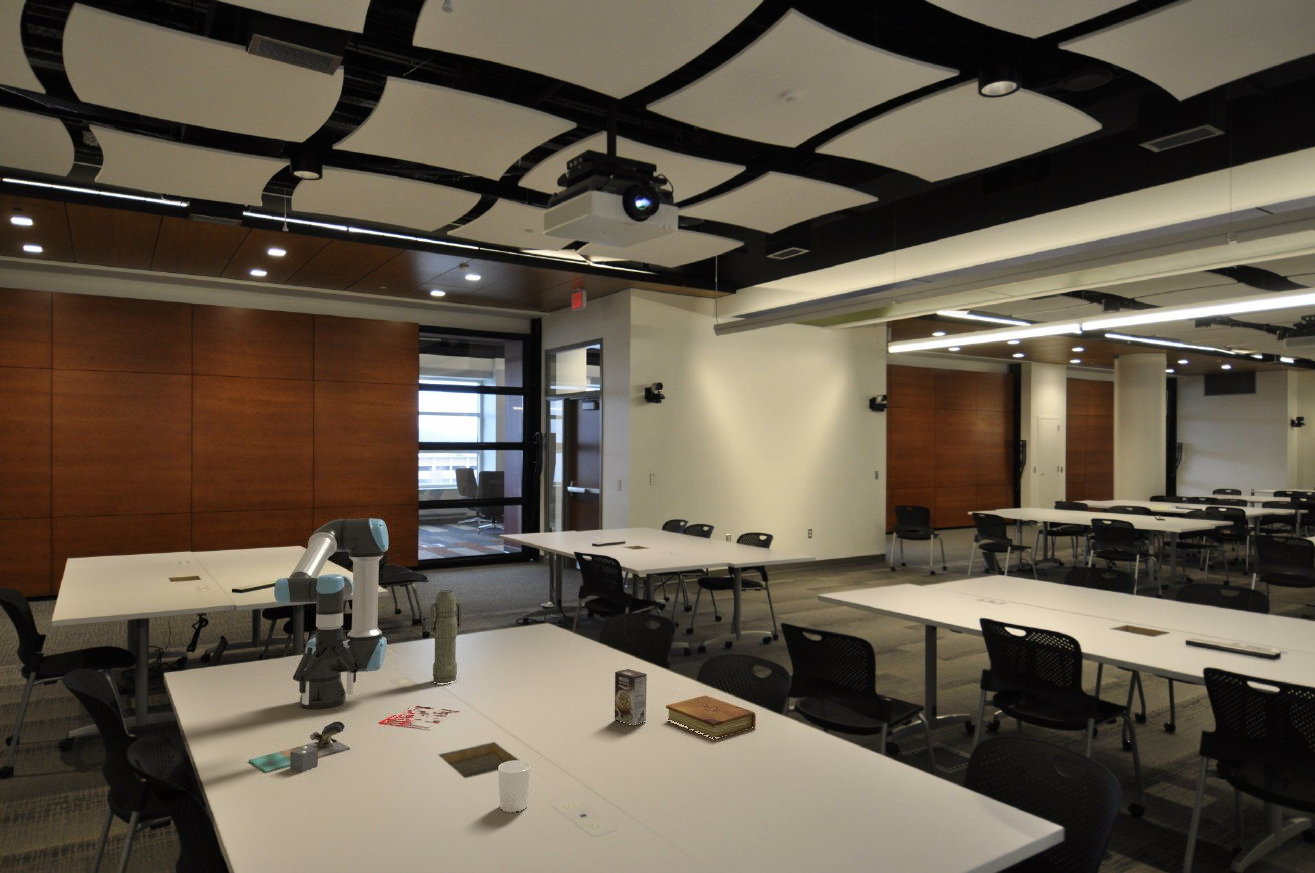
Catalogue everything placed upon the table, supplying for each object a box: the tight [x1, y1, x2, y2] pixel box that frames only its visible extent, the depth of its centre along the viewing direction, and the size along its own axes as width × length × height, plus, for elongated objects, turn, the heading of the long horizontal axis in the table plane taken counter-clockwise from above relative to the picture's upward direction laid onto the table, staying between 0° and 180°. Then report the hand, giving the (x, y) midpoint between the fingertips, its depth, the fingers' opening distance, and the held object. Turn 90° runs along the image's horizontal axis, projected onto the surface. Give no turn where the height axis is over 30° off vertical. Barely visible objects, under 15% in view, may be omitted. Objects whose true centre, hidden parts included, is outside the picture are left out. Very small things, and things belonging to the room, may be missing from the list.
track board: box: [248, 739, 351, 773], centre depth 230 cm, size 24×12×1 cm, turn 138°
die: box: [289, 746, 319, 773], centre depth 220 cm, size 5×5×5 cm
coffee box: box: [614, 668, 648, 725], centre depth 261 cm, size 9×6×16 cm
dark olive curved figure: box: [309, 721, 346, 750], centre depth 236 cm, size 8×7×9 cm
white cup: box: [497, 759, 531, 813], centre depth 197 cm, size 8×8×10 cm
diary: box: [665, 694, 757, 739], centre depth 259 cm, size 23×19×6 cm
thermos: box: [429, 589, 462, 683], centre depth 307 cm, size 9×12×35 cm
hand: (328, 698), depth 236 cm, fingers open, 13 cm apart
